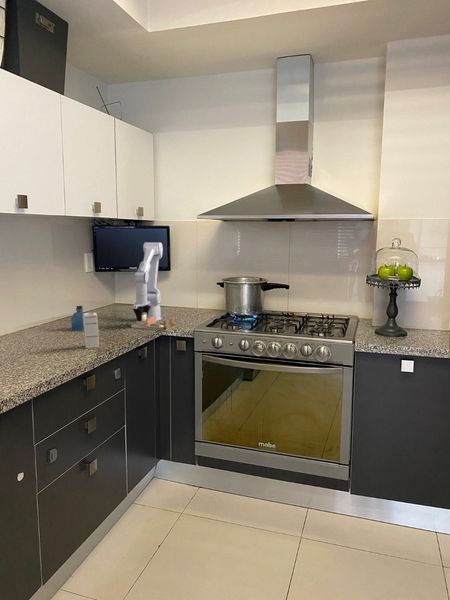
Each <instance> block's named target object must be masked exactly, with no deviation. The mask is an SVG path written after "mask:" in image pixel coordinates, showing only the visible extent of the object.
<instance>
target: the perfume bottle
mask: <svg viewBox="0 0 450 600" xmlns="http://www.w3.org/2000/svg"><path fill="white" fill-rule="evenodd" d="M75 307H76V308H75V311H76V312H73V314H72V316H71V319H70V322H71V331H75V330H77V331H78V332H79V331H80V332H84V321H83V313H87V312H86V311H84V307H83V305H76V306H75Z"/></svg>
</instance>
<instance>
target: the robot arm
mask: <svg viewBox="0 0 450 600" xmlns="http://www.w3.org/2000/svg"><path fill="white" fill-rule="evenodd" d="M163 248H164V247H163V243H162V242H147V241H146V242H143V246H142V249H143V253H144V255H143V260H142V261H141V262H140V263H139V266H138V269H137V271H136V272H135V273H134V275H133V281H134V287H135V297H136V299H135V301H136V302H134V304H132V311H133V312H134V314H135V317H136V318H135V319H136V322H137V321H142V313H143V312H147V319H148V318H151V317H154V316H156V321H157V322H159V321H161V320H162V319H163V317H161V316H162V315H161V310H162V309H161V306H160V303H161V302H162V301H161V299H162V297H161V291H160V289H158V288H157V285H158V284H157V283H158V282H157V281H158V271H159V263H160V262H159V261H160V260H161V259H162V258H163V251H164V249H163Z"/></svg>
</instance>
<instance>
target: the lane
mask: <svg viewBox="0 0 450 600" xmlns="http://www.w3.org/2000/svg"><path fill="white" fill-rule="evenodd" d="M157 323H161V325H160V326H157V327H156V326H146V324H145V325H139V324H133V323H132V324H130V325H131V326H130V327H131V329H133V328H134V329H140V330H141V329H143V330H153V331H155V330H156V331H164V332H165V331H168V330H171V329H173V328H175V327H177V317H176V316H174V317H171V318H168V319H166V320H163V322H162V321H157Z"/></svg>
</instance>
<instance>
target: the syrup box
mask: <svg viewBox="0 0 450 600" xmlns="http://www.w3.org/2000/svg"><path fill="white" fill-rule="evenodd" d="M83 321H84V331H83V335H84V336H83V337H84V347H85V349H94V348H100V343H99V341H100V340H99V338H100V337H99V324H98V314H97V312H86V313H83Z"/></svg>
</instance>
